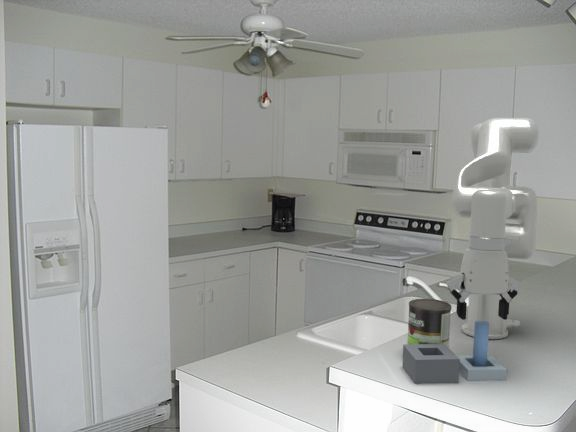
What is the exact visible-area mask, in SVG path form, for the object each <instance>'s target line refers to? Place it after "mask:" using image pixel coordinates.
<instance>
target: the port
mask: <svg viewBox="0 0 576 432" xmlns="http://www.w3.org/2000/svg"><path fill="white" fill-rule="evenodd" d="M402 347H403V348H402V368H403V370H404V371H405V373H406V374H407V375H408V377H409V378H410V379H411V381H412V382H413V383H414V384H415V385H421V384H422V385H424V384H428V385H429V384H460V383H459V382H460V372H459V366H460V359H459V358H458V357H457V356H458V355H457V354H455V352H453V351H452V350H451V349H450V348H448V347H447V346H446V345H445V344H407V343H405V344H403V345H402Z"/></svg>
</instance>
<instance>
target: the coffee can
mask: <svg viewBox="0 0 576 432" xmlns="http://www.w3.org/2000/svg"><path fill="white" fill-rule="evenodd" d="M451 313H452V304H451V303H449V302H447V301H444V300H441V299H435V298H416V299H415V298H414V299H412V300H409V302H408V324H407V325H408V327H407V328H408V329H407V343H406V344H445V345H446V346H447V347H448V348H449V347H450V331H451V315H452V314H451ZM449 349H450V348H449Z"/></svg>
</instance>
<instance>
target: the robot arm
mask: <svg viewBox="0 0 576 432" xmlns="http://www.w3.org/2000/svg"><path fill="white" fill-rule="evenodd" d="M538 127H539V126H538V124H537V122H536V121H535V120H534V119H533V118H530V117H492V118H489V119H487V120H486V121H484V122H480V123H477V124H475V125H474V126H473V127H472V129H471V134H470V136H471V137H470V139H471V147H472V153H473V156H474V158H473V159H472V160H471V161H469V162H468V163H466V165H465V166H463V167H462V168H461V169H460V170H459V172H457V173H458V174H457V175H456V177H455V180H454V185H453V192H452V199H451V201H452V202H451V203H452V204H451V205H452V210H453V212H454V214H455V215H456V216H457V217H459V218H465V219H466V218H467V219H470V223H469V224H470V225H469V231H468V232H469V233H468V244H469V245H468V248H465V250H464V252H463V255H462V261H461V265H460V272H459V275H458V276H454V277H453V278H451V279H449V280H448V281H446V283H445V284H446V286H447V288H448V290H449V292H450V294H451V295H452V296H453V297H454V298H455V299H456V315H457V317H458V318H460V319H461V320H463V321H465V320H466V319H467V322H465V323H464V324H462V325H461V332H462V333H464V334H465V335H467V336H470V337H473V338H474V327H475V321H486V322H488V323H489V337H488V340H499V339H500V340H501V339H502V340H503V339H505V338H507V337H508V335H509V330H508V329H510V328H520V325H521V322H520V320H517V319H515V320H513V319H511V318H508V316H509V313H510V303H511V302H512V301H513V300H514V299H515V297H516V296H517V295H518V294H519V293H518V292H519V291H520V289H521V288H522V285H523V284H522V282H520V281H519V280H516V279H515V278H513V277H512V276H509V262H508V261H509V260H508V259H518V260H520V259H521V260H528V259H530V258H532V257H533V256H534V255H535V252H536V248H537V247H536V246H537V228H538V227H537V225H538V223H537V222H538V198H537V197H538V196H537V194H536V192H535V190H534V189H533V188H532V187H528V186H520V185H519V186H515V185H511V184H510V181H511V179H510V178H511V169H510V168H511V165H512V156H513V155H512V154H513V153H515V154H516V153H519V154H528V153H529V154H530V153H532V152H533V151H534V150H535V149H536V147H537V145H538V142H539V141H538V140H539V128H538ZM476 184H477V186H473V185H476ZM506 221H516V222H517V223H506ZM509 284H511V285H512V287H511V288H510V289H509ZM457 285H458V287H459V289H460V290H459V291H457V289H456V286H457ZM467 299H468V309H467V302H466V300H467Z"/></svg>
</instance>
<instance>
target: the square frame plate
mask: <svg viewBox="0 0 576 432" xmlns="http://www.w3.org/2000/svg"><path fill="white" fill-rule="evenodd" d="M456 356H457V357H458V358H459V359H460V366H459V374H461V376H462V377H464V379H465V380H466V381H467V382H478V381H479V382H480V381H485V382H486V381H487V382H488V381H507V375H508V369H507V368H506V367H505V366H503V365H502V364H501V362H499V361H498V360H497V359H496V358H494V357H493V356H492V355H490V354H487V367H473V366H472V362H473V354H472V355H471V354H470V355H469V354H468V355H456Z"/></svg>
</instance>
